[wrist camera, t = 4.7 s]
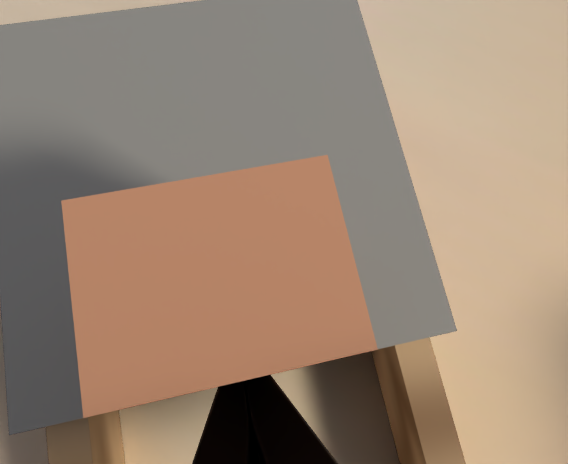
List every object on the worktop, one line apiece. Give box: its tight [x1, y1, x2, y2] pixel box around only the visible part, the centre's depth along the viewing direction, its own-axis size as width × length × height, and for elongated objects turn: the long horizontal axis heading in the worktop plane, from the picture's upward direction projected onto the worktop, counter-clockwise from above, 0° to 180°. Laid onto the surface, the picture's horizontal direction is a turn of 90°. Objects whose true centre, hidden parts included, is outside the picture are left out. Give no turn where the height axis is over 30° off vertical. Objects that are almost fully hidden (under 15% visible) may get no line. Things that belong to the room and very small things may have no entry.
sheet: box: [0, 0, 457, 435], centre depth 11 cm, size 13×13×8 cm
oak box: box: [46, 337, 466, 464], centre depth 16 cm, size 20×12×3 cm, turn 12°
